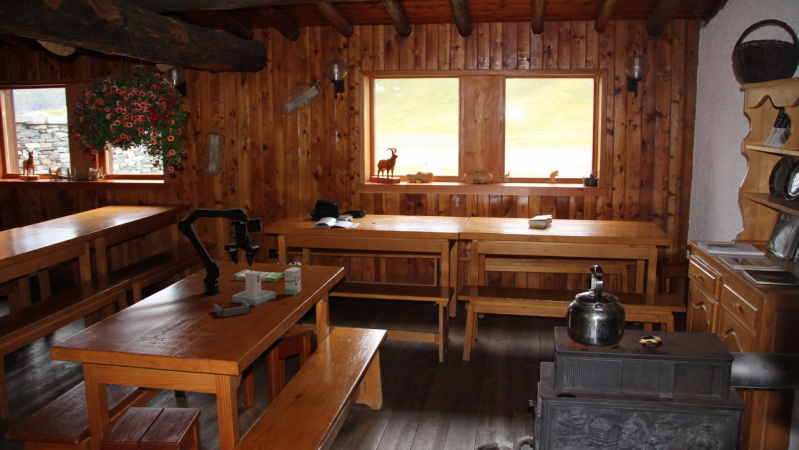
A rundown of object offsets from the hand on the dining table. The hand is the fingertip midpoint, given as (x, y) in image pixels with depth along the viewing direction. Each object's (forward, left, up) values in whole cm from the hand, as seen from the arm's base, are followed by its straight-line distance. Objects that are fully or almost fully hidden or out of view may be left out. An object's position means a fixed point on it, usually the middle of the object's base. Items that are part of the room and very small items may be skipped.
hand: (243, 265), depth 321 cm
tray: (+14, -9, -13) cm, 21 cm away
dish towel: (-13, +25, -14) cm, 32 cm away
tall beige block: (+14, -9, -12) cm, 20 cm away
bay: (+17, -27, -13) cm, 34 cm away
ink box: (+22, +10, -14) cm, 27 cm away
